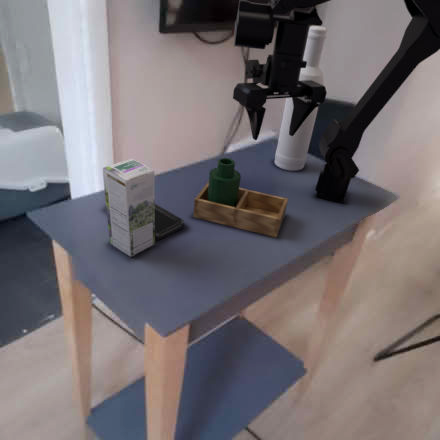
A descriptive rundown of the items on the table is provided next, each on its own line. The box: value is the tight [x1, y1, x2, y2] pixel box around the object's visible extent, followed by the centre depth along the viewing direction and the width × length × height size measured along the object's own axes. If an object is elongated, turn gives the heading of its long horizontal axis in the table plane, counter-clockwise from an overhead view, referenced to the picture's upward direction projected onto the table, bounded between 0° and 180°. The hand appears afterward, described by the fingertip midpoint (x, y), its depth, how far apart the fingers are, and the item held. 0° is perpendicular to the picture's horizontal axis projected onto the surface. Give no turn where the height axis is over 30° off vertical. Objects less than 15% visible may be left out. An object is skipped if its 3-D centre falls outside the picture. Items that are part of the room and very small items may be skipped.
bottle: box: [274, 25, 328, 172], centre depth 92 cm, size 8×8×30 cm
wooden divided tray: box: [193, 180, 289, 238], centre depth 79 cm, size 17×9×4 cm, turn 73°
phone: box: [155, 203, 184, 241], centre depth 76 cm, size 8×1×15 cm
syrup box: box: [102, 158, 156, 258], centre depth 65 cm, size 6×6×14 cm
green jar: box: [207, 157, 242, 207], centre depth 77 cm, size 6×6×10 cm
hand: (273, 137), depth 82 cm, fingers open, 9 cm apart
